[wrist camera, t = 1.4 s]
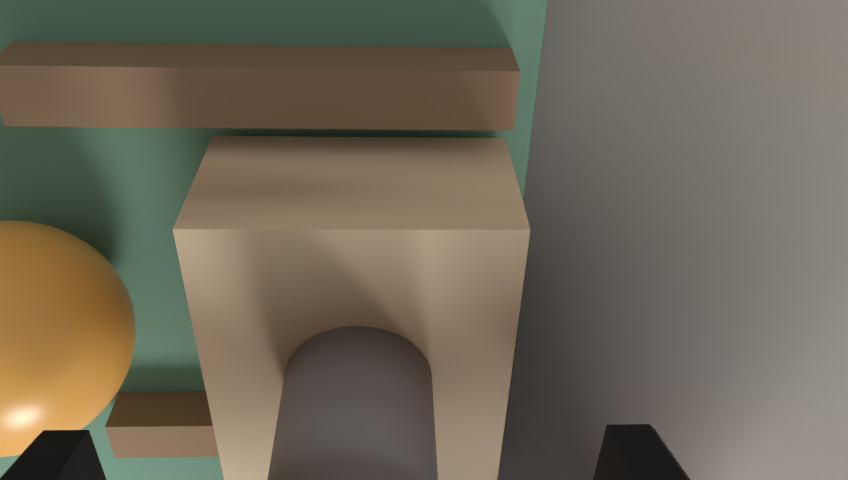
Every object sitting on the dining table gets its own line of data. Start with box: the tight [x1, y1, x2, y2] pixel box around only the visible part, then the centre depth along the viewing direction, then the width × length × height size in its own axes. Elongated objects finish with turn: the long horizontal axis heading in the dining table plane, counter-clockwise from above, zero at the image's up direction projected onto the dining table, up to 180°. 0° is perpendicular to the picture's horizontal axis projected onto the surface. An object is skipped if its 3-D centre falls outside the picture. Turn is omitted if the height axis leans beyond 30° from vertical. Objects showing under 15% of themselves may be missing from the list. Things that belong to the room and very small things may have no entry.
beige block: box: [173, 136, 531, 480], centre depth 11 cm, size 6×5×8 cm
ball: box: [0, 220, 136, 457], centre depth 13 cm, size 4×4×4 cm
